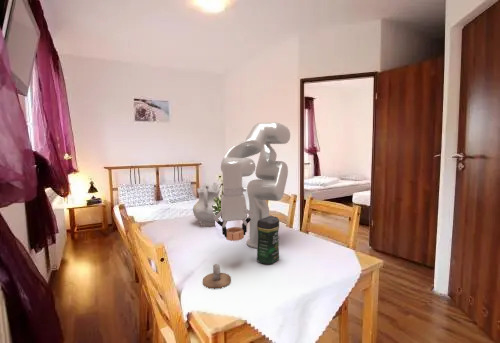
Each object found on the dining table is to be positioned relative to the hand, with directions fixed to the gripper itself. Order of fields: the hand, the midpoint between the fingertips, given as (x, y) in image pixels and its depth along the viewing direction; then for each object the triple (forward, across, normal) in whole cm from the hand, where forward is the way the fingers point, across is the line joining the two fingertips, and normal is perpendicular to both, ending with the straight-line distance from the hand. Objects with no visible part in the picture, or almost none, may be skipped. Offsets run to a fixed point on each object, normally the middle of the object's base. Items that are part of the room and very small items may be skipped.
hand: (234, 234), depth 114 cm
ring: (+1, 0, 0) cm, 1 cm away
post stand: (+12, +9, +12) cm, 19 cm away
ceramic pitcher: (+15, +6, -59) cm, 61 cm away
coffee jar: (+13, -14, -1) cm, 19 cm away
